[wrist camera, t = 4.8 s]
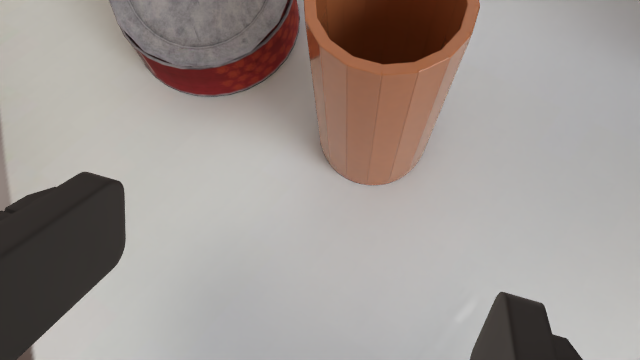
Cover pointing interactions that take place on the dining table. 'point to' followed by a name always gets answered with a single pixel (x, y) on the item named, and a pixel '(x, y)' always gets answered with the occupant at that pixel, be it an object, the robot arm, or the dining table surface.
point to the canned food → (210, 40)
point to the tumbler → (383, 78)
